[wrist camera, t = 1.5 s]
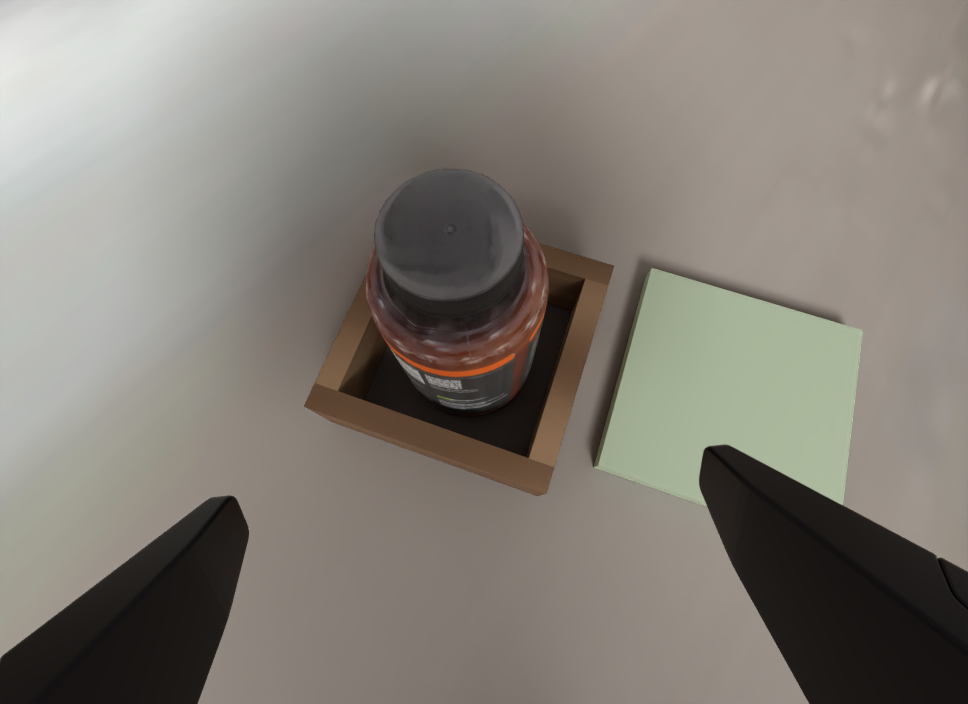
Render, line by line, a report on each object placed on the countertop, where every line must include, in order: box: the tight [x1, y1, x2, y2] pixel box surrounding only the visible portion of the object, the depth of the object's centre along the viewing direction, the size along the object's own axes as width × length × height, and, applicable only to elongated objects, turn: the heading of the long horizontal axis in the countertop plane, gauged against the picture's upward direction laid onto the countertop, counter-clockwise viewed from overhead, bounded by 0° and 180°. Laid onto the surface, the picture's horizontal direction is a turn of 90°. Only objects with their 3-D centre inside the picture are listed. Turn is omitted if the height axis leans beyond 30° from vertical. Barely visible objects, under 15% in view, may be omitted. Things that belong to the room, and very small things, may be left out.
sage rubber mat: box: [594, 268, 863, 507], centre depth 22 cm, size 10×10×1 cm
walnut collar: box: [304, 244, 614, 496], centre depth 22 cm, size 10×10×4 cm
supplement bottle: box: [365, 169, 549, 416], centre depth 18 cm, size 6×6×11 cm
